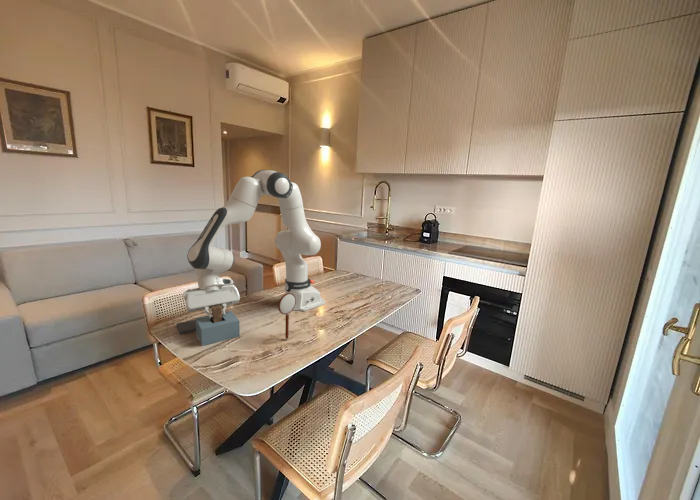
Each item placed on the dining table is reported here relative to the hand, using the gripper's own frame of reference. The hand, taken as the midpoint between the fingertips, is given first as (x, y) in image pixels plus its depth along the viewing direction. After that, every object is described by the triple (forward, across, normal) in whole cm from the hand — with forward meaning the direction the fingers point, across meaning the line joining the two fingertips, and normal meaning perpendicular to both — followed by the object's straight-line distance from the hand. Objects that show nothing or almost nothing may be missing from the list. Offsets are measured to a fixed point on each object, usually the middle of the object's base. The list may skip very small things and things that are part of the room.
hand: (217, 316), depth 118 cm
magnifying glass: (+18, +22, -6) cm, 29 cm away
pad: (-4, -8, +16) cm, 18 cm away
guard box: (+6, 0, +6) cm, 9 cm away
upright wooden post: (+3, 0, +4) cm, 5 cm away
